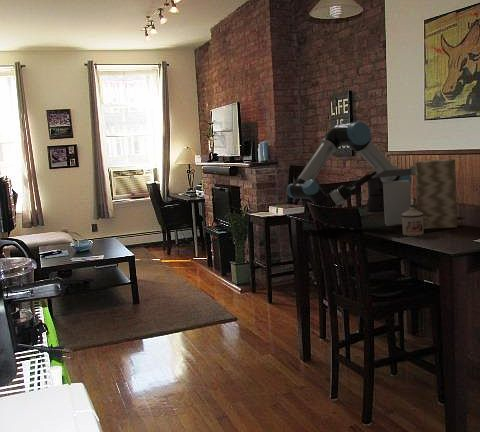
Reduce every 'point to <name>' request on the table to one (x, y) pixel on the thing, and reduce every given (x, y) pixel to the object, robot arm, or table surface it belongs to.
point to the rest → (396, 201)
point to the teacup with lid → (413, 222)
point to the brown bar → (396, 172)
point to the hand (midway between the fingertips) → (381, 168)
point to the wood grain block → (437, 192)
